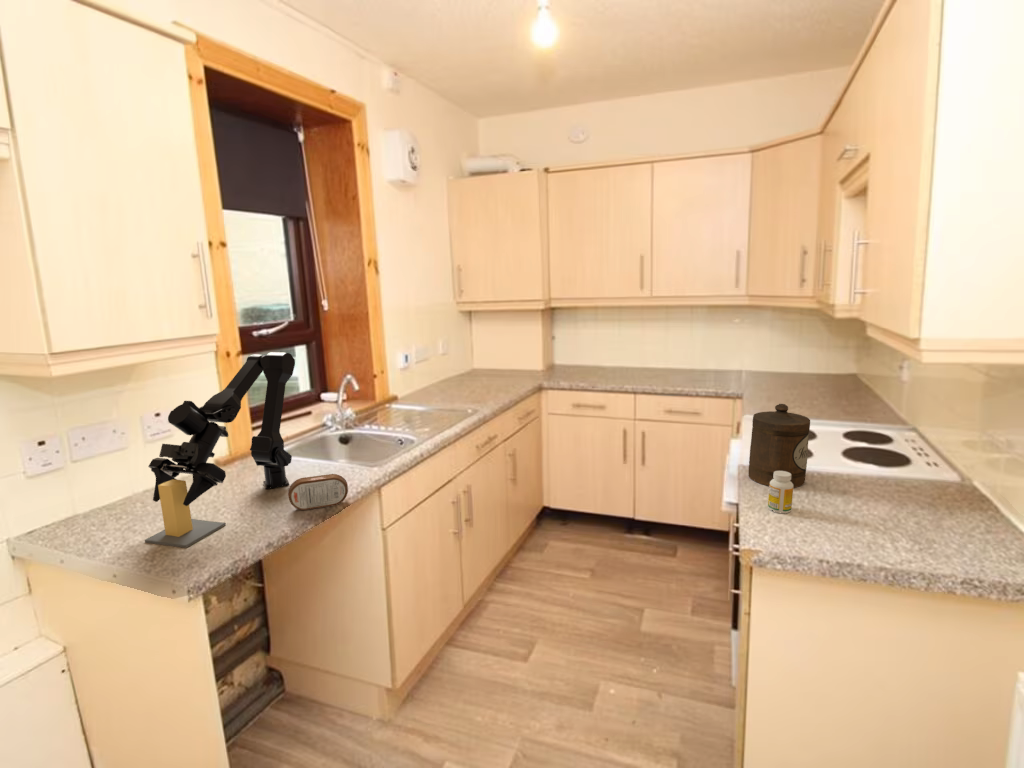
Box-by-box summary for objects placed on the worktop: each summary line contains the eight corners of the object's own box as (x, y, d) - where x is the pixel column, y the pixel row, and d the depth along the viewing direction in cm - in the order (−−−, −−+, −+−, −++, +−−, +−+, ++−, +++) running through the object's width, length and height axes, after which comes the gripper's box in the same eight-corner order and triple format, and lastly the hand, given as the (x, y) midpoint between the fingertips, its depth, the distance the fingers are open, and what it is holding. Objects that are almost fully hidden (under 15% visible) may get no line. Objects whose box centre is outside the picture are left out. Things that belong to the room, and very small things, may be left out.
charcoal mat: (144, 542, 132) (144, 539, 132) (186, 520, 143) (186, 518, 143) (186, 547, 128) (185, 545, 128) (225, 525, 140) (225, 522, 140)
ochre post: (180, 527, 138) (172, 479, 135) (192, 529, 136) (185, 480, 134) (165, 534, 134) (157, 485, 131) (178, 536, 133) (171, 486, 130)
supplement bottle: (768, 512, 139) (771, 476, 137) (766, 504, 144) (769, 468, 142) (792, 515, 137) (795, 478, 136) (790, 506, 142) (792, 470, 140)
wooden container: (810, 490, 152) (817, 411, 148) (751, 486, 156) (756, 409, 152) (799, 471, 166) (805, 399, 162) (745, 468, 170) (749, 397, 166)
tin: (348, 500, 154) (346, 470, 152) (349, 504, 151) (347, 474, 149) (289, 509, 148) (286, 479, 147) (289, 513, 146) (286, 483, 144)
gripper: (149, 426, 137) (113, 485, 129) (210, 431, 131) (176, 493, 123) (181, 447, 146) (149, 504, 138) (239, 452, 140) (209, 512, 132)
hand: (169, 503), depth 132 cm, fingers open, 9 cm apart
